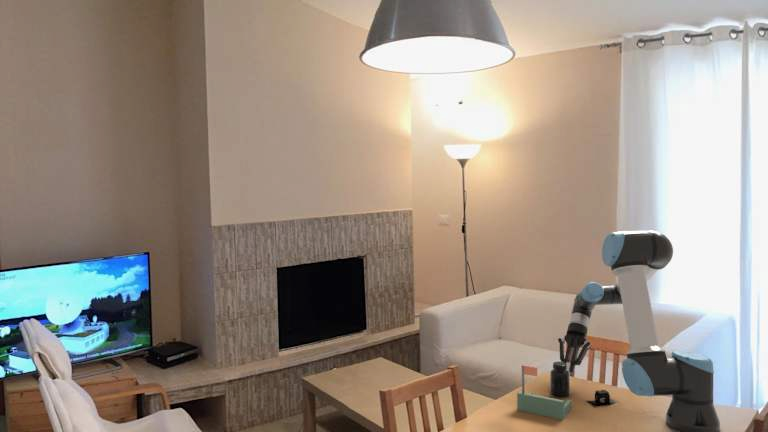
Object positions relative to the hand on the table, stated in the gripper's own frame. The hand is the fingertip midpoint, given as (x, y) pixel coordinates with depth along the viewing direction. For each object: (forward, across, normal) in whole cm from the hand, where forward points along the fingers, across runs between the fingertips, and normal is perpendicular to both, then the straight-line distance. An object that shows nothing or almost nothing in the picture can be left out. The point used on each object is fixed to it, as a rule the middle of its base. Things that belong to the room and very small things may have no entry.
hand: (565, 379), depth 218 cm
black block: (+8, -15, +2) cm, 18 cm away
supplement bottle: (+8, 0, +3) cm, 9 cm away
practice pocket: (+20, 0, +15) cm, 24 cm away
